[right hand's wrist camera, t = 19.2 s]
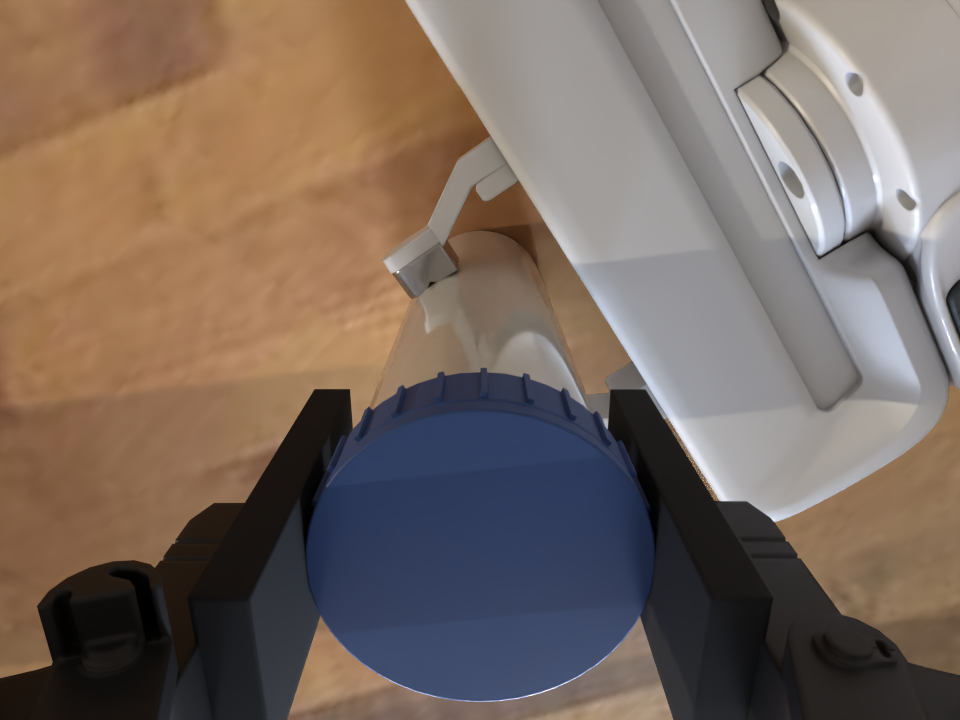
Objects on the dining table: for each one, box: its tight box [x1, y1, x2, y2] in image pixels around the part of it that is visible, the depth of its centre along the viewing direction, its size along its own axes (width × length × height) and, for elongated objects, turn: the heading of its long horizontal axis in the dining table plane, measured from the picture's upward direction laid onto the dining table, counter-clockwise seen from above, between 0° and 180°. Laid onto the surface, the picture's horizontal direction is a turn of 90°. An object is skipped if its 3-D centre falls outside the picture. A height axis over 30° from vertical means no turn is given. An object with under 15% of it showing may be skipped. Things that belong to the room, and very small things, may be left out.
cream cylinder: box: [369, 231, 594, 414], centre depth 19 cm, size 5×5×17 cm
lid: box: [305, 368, 656, 702], centre depth 11 cm, size 6×6×2 cm
